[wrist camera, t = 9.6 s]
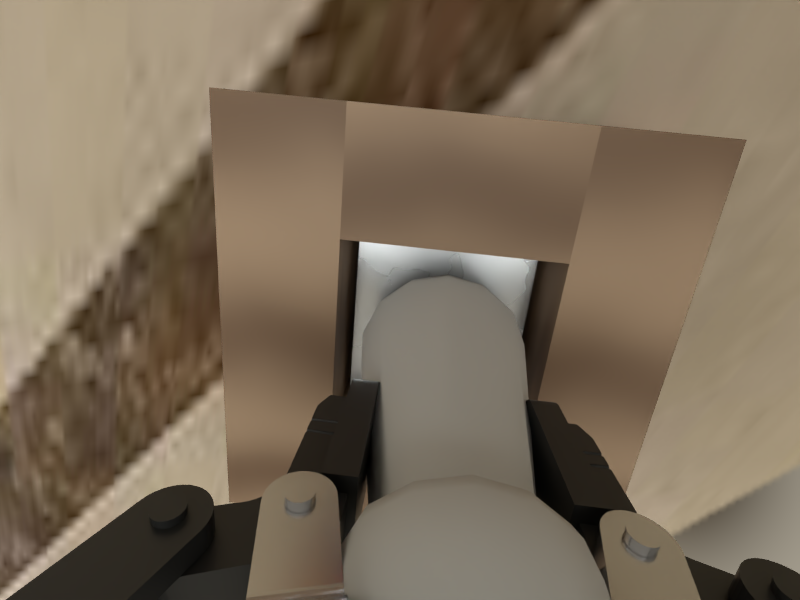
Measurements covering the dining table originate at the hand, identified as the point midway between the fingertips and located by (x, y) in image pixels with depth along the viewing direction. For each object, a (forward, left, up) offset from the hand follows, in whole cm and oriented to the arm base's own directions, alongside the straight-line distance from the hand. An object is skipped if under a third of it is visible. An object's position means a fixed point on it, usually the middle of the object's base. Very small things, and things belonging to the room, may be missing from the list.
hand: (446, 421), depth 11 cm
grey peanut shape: (0, 0, -7) cm, 7 cm away
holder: (0, 0, -12) cm, 12 cm away
